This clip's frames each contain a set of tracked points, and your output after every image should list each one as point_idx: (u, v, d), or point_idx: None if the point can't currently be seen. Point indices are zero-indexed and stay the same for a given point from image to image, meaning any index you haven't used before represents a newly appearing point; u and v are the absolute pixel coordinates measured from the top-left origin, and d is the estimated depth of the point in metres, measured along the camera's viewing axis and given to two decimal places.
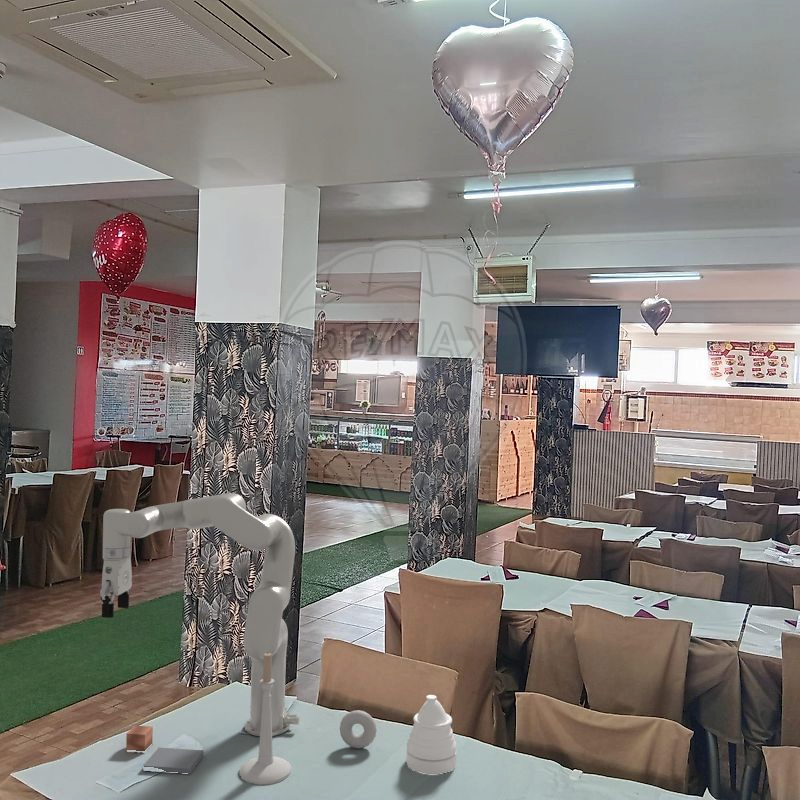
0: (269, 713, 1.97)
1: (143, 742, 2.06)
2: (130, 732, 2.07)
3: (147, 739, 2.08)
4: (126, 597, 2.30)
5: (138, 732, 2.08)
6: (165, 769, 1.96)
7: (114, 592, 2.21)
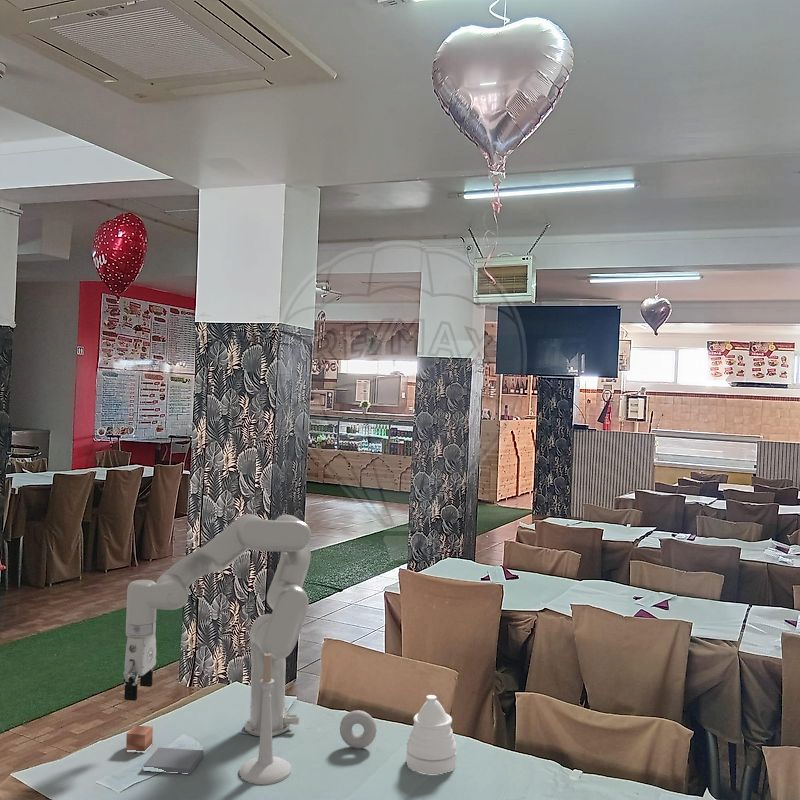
0: (269, 713, 1.97)
1: (143, 742, 2.06)
2: (130, 732, 2.07)
3: (148, 739, 2.08)
4: (149, 675, 2.13)
5: (138, 732, 2.08)
6: (165, 769, 1.96)
7: (138, 673, 2.03)
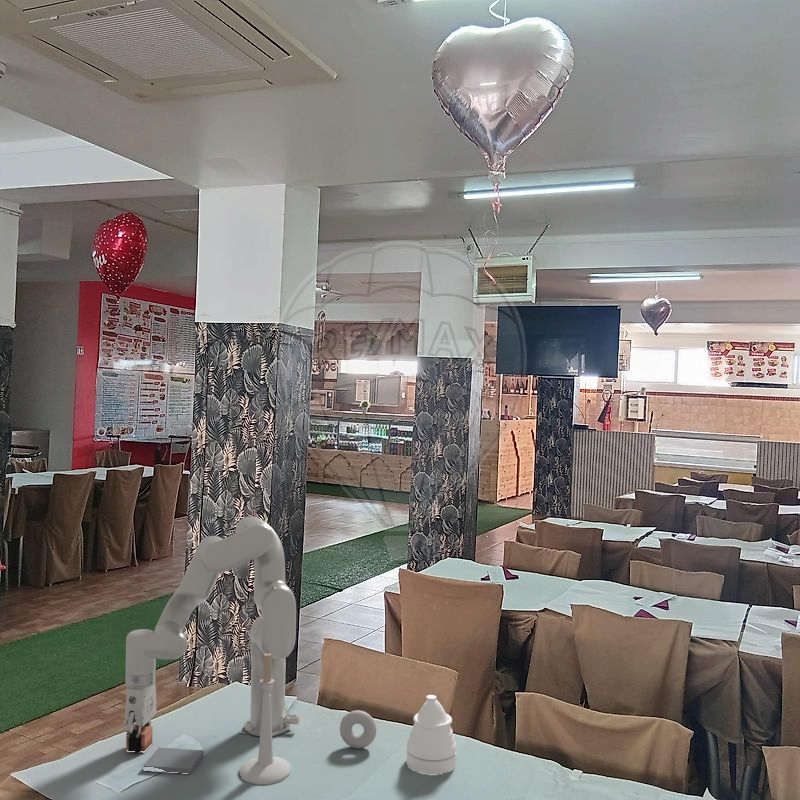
0: (269, 713, 1.97)
1: (143, 742, 2.06)
2: None
3: (147, 739, 2.08)
4: None
5: None
6: (165, 769, 1.96)
7: (138, 724, 2.04)
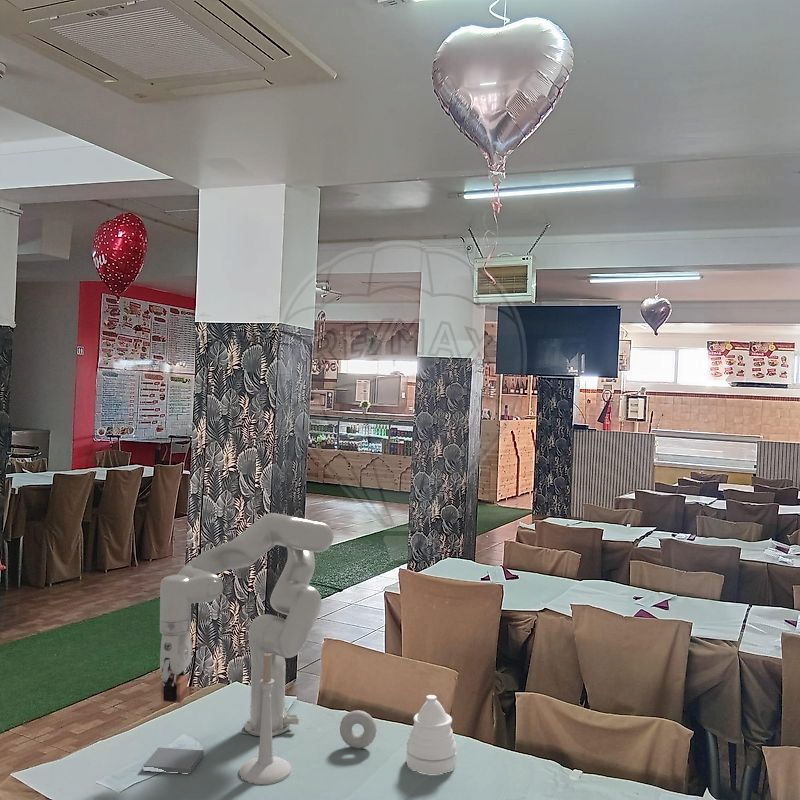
0: (269, 713, 1.97)
1: (178, 691, 1.98)
2: None
3: (183, 688, 2.00)
4: None
5: None
6: (165, 769, 1.96)
7: (174, 671, 1.96)
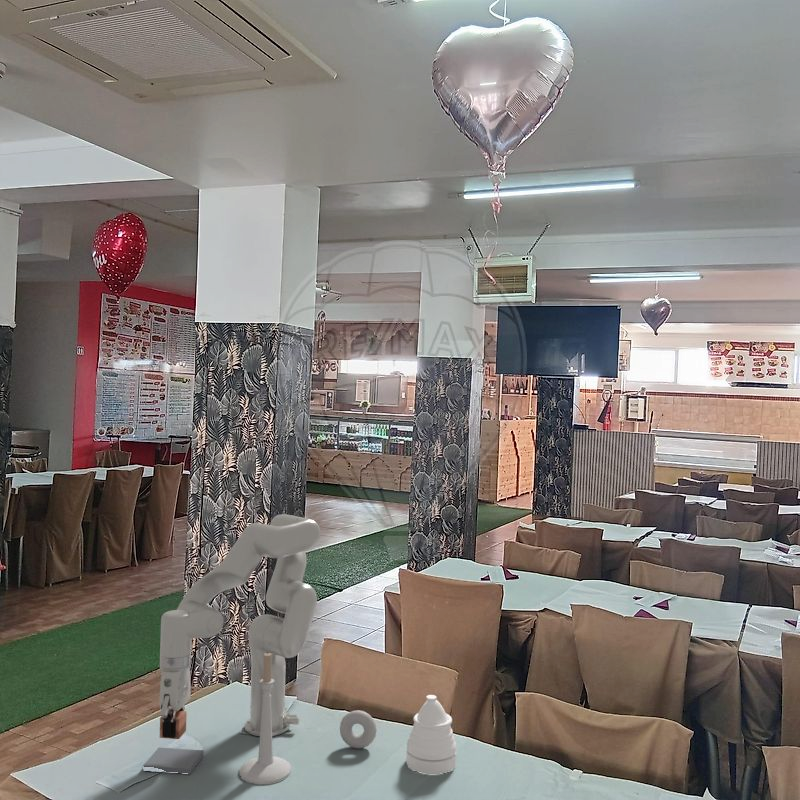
0: (269, 713, 1.97)
1: (177, 727, 1.98)
2: None
3: (182, 724, 2.00)
4: None
5: None
6: (165, 769, 1.96)
7: (173, 708, 1.95)
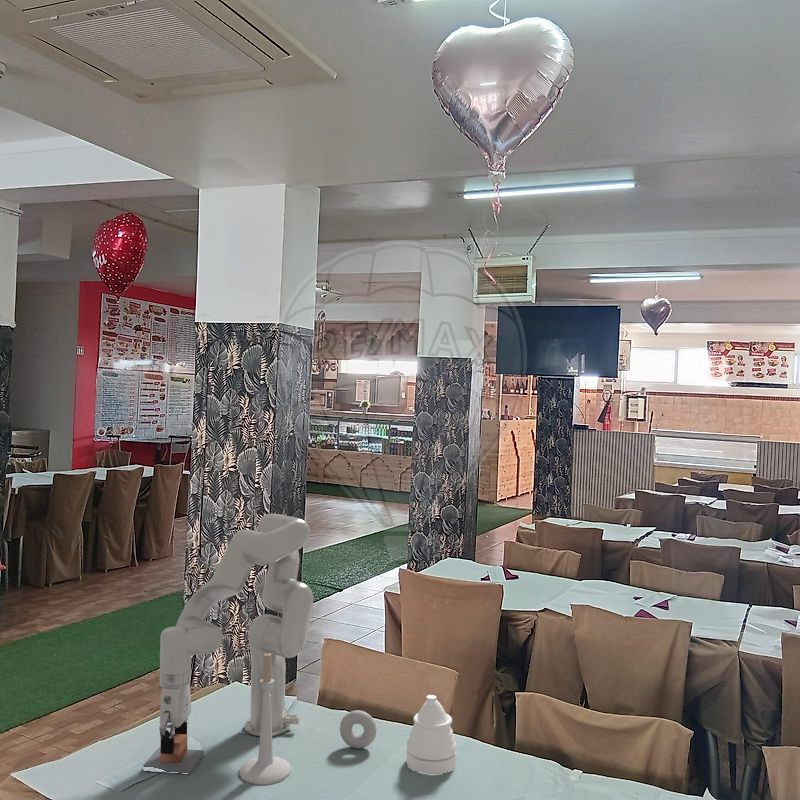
0: (269, 713, 1.97)
1: (178, 751, 1.98)
2: None
3: (182, 748, 2.00)
4: (184, 725, 2.05)
5: None
6: (165, 769, 1.96)
7: (174, 725, 1.96)
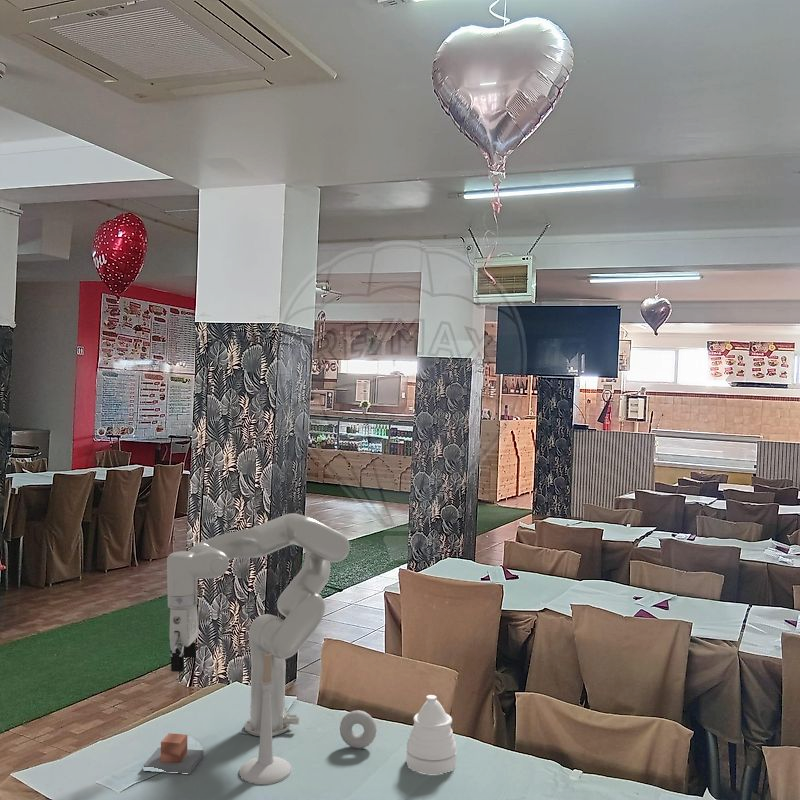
0: (269, 713, 1.97)
1: (178, 751, 1.98)
2: (164, 740, 1.99)
3: (182, 748, 2.00)
4: (193, 646, 2.12)
5: (173, 740, 2.00)
6: (165, 769, 1.96)
7: (184, 644, 2.02)
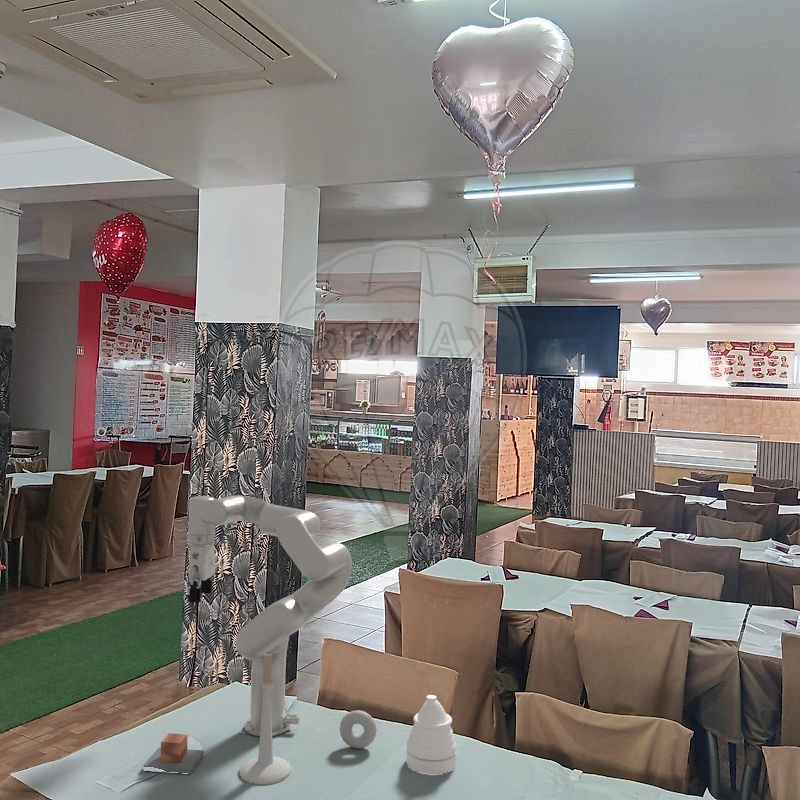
0: (269, 713, 1.97)
1: (178, 751, 1.98)
2: (164, 740, 1.99)
3: (182, 748, 2.00)
4: (209, 583, 2.35)
5: (173, 740, 2.00)
6: (165, 769, 1.96)
7: (201, 577, 2.25)
